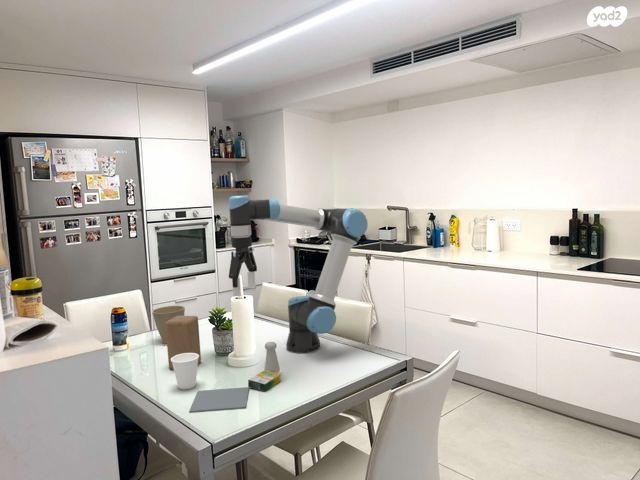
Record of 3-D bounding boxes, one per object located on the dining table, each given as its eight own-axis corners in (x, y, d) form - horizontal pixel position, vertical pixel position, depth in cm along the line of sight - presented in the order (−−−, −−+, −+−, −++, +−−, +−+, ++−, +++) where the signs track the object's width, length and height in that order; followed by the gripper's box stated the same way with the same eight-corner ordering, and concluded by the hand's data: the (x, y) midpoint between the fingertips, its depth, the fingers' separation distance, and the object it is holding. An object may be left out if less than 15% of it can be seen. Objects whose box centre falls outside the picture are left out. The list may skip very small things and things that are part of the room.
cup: (186, 394, 168) (183, 363, 167) (167, 389, 174) (164, 359, 173) (206, 383, 177) (204, 354, 176) (187, 379, 182) (185, 351, 181)
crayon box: (264, 392, 167) (283, 380, 177) (264, 384, 167) (283, 372, 177) (247, 387, 171) (267, 376, 181) (247, 379, 170) (267, 368, 180)
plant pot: (174, 335, 242) (171, 304, 240) (193, 339, 233) (191, 307, 232) (148, 343, 230) (145, 311, 228) (167, 348, 221) (165, 314, 220)
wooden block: (191, 371, 191) (187, 321, 189) (168, 370, 193) (164, 321, 191) (202, 362, 201) (198, 315, 199) (180, 361, 203) (176, 315, 201)
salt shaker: (282, 373, 183) (280, 340, 182) (276, 379, 178) (274, 345, 177) (268, 372, 185) (266, 339, 184) (262, 378, 180) (260, 344, 178)
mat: (249, 388, 171) (249, 387, 171) (245, 408, 155) (245, 406, 155) (198, 392, 170) (198, 390, 170) (189, 412, 154) (189, 411, 154)
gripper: (245, 233, 194) (249, 285, 197) (216, 240, 171) (220, 299, 173) (263, 233, 192) (266, 285, 195) (235, 240, 169) (239, 299, 171)
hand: (244, 291), depth 184 cm, fingers open, 13 cm apart
